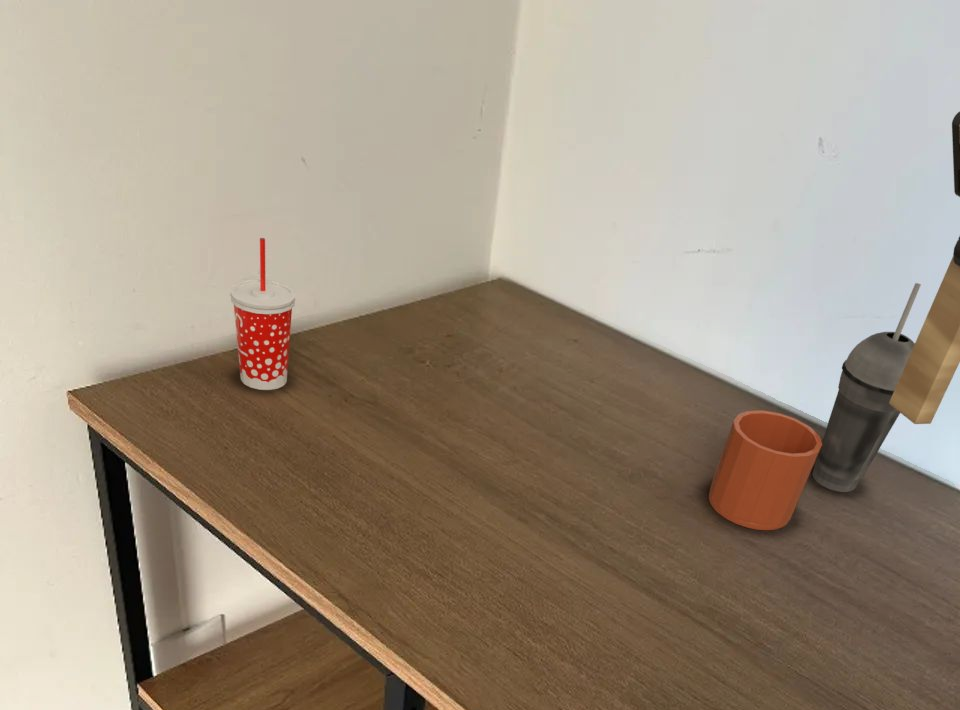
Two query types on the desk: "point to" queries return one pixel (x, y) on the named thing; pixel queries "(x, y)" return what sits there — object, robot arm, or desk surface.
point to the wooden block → (932, 355)
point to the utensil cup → (763, 469)
